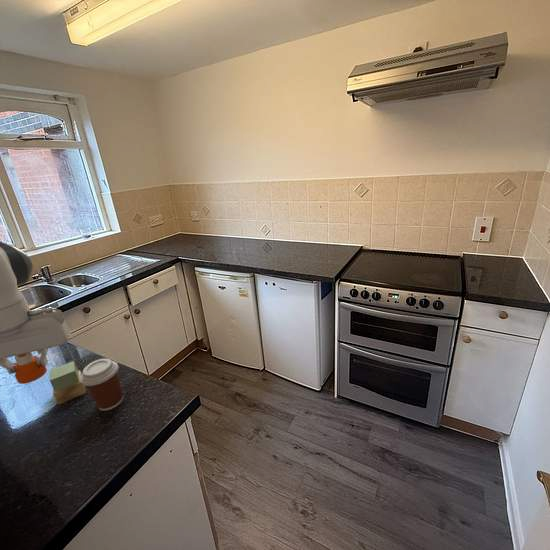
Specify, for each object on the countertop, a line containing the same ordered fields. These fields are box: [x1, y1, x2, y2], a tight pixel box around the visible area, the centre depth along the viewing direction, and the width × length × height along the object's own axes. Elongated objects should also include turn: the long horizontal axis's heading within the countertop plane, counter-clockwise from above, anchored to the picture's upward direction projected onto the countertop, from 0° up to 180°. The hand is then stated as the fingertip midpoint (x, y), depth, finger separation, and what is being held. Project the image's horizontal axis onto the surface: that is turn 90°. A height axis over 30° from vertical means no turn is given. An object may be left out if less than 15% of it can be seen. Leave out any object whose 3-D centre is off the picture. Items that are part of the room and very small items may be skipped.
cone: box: [14, 352, 48, 385], centre depth 69 cm, size 6×6×7 cm
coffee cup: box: [80, 358, 125, 412], centre depth 81 cm, size 9×9×12 cm
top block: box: [49, 360, 79, 392], centre depth 86 cm, size 6×6×4 cm
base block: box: [52, 369, 87, 406], centre depth 88 cm, size 7×7×4 cm
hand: (29, 368), depth 70 cm, fingers closed on cone, 4 cm apart
